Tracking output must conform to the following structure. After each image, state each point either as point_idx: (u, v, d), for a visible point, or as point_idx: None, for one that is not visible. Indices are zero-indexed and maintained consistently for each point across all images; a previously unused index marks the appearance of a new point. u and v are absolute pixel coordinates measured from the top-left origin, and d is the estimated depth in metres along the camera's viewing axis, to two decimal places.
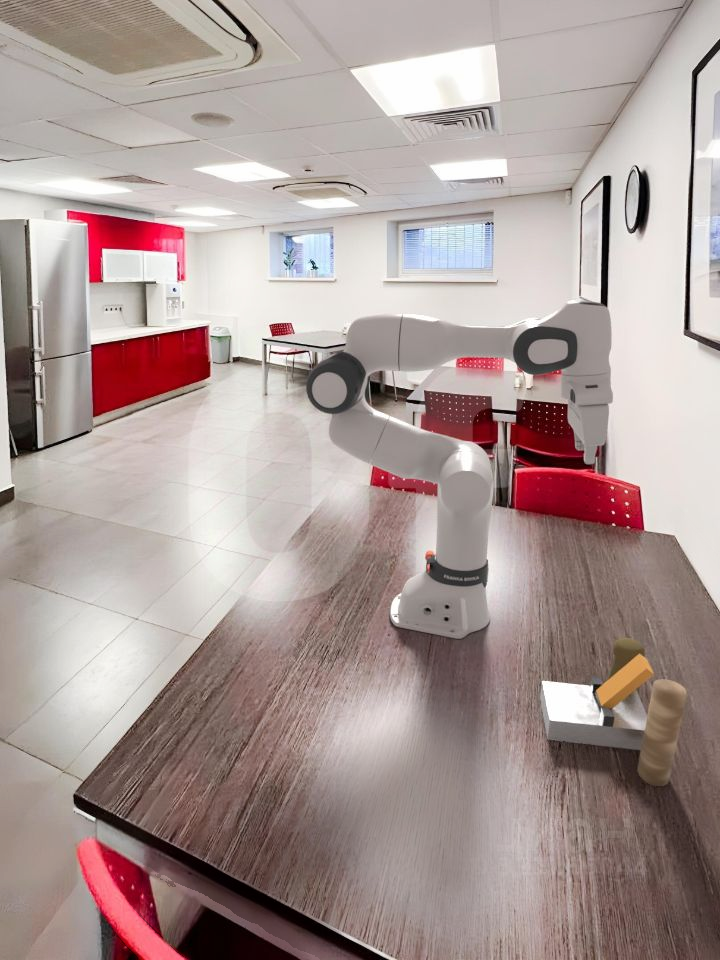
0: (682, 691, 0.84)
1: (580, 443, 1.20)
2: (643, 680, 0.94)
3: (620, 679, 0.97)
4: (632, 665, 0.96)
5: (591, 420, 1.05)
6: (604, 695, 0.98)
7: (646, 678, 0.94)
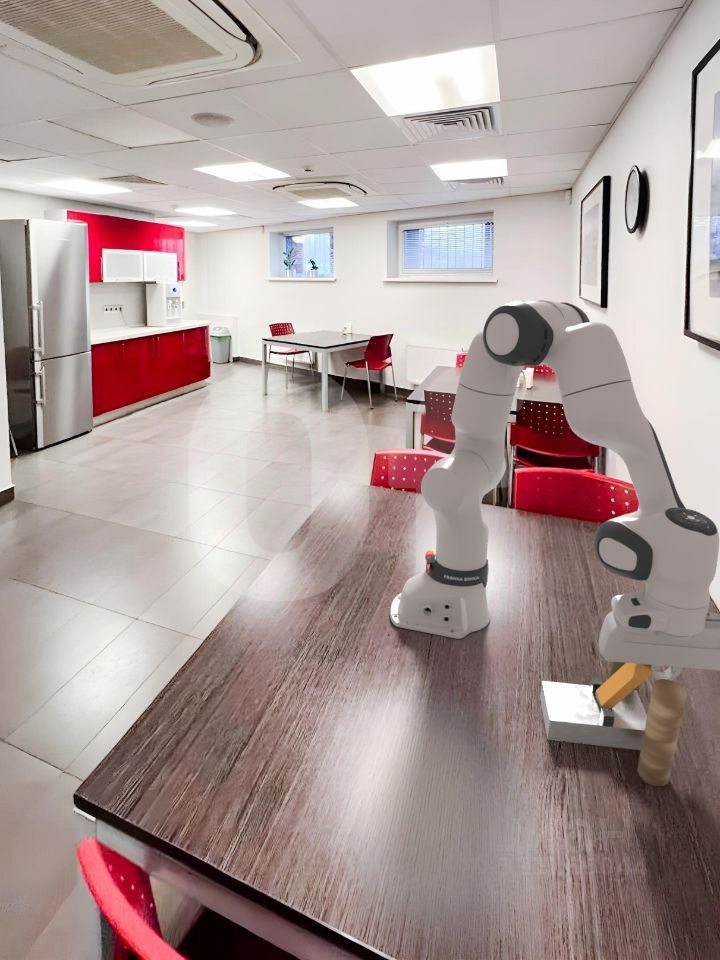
0: (682, 691, 0.84)
1: None
2: (642, 679, 0.94)
3: (619, 678, 0.97)
4: (630, 664, 0.96)
5: (604, 626, 0.95)
6: (604, 695, 0.98)
7: (645, 677, 0.94)
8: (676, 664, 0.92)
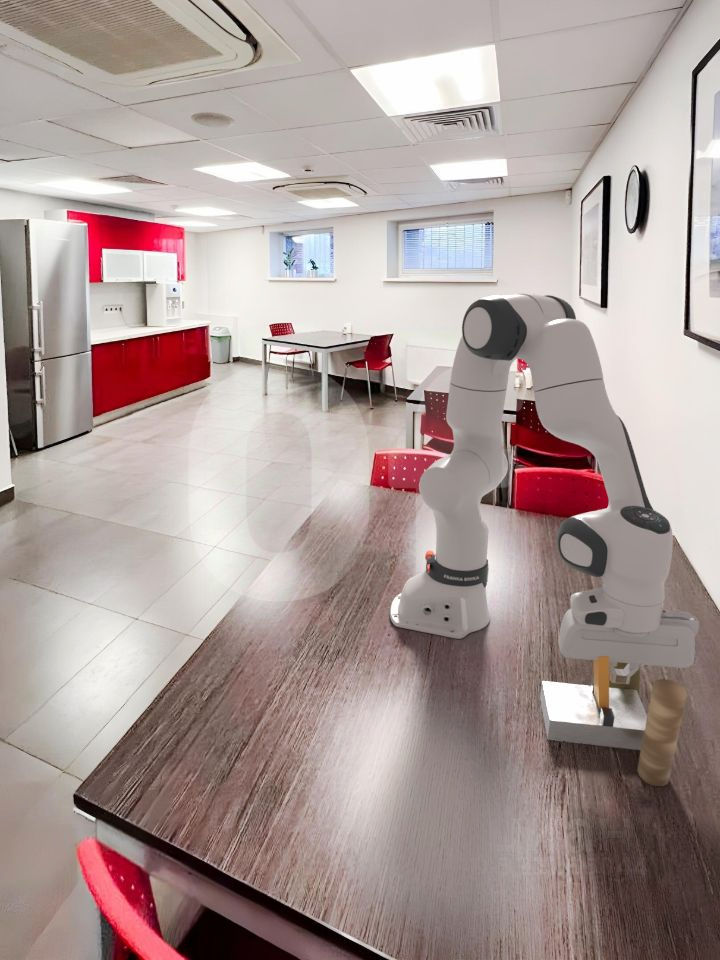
0: (682, 692, 0.84)
1: None
2: (606, 667, 0.94)
3: (596, 675, 0.97)
4: None
5: (563, 624, 0.96)
6: (596, 696, 0.98)
7: (607, 664, 0.94)
8: (633, 661, 0.93)
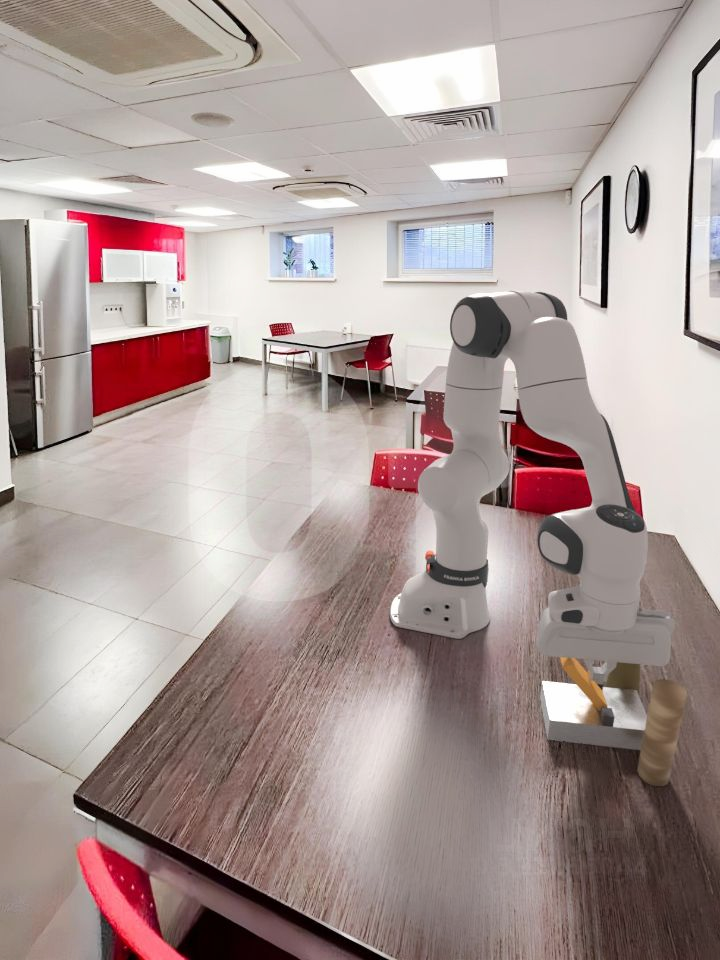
0: (682, 692, 0.84)
1: None
2: (576, 673, 0.95)
3: None
4: None
5: (541, 622, 0.97)
6: None
7: (575, 670, 0.95)
8: (610, 659, 0.94)
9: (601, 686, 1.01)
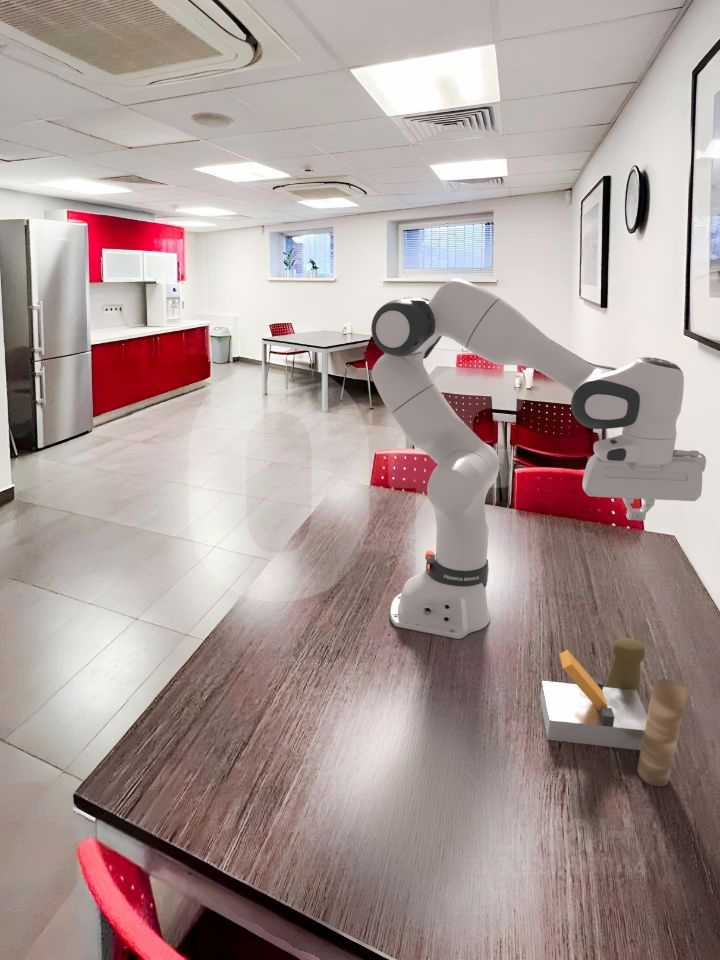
0: (682, 692, 0.84)
1: None
2: (576, 673, 0.95)
3: None
4: None
5: (587, 467, 1.10)
6: None
7: (575, 670, 0.95)
8: (648, 496, 1.07)
9: (601, 686, 1.01)
